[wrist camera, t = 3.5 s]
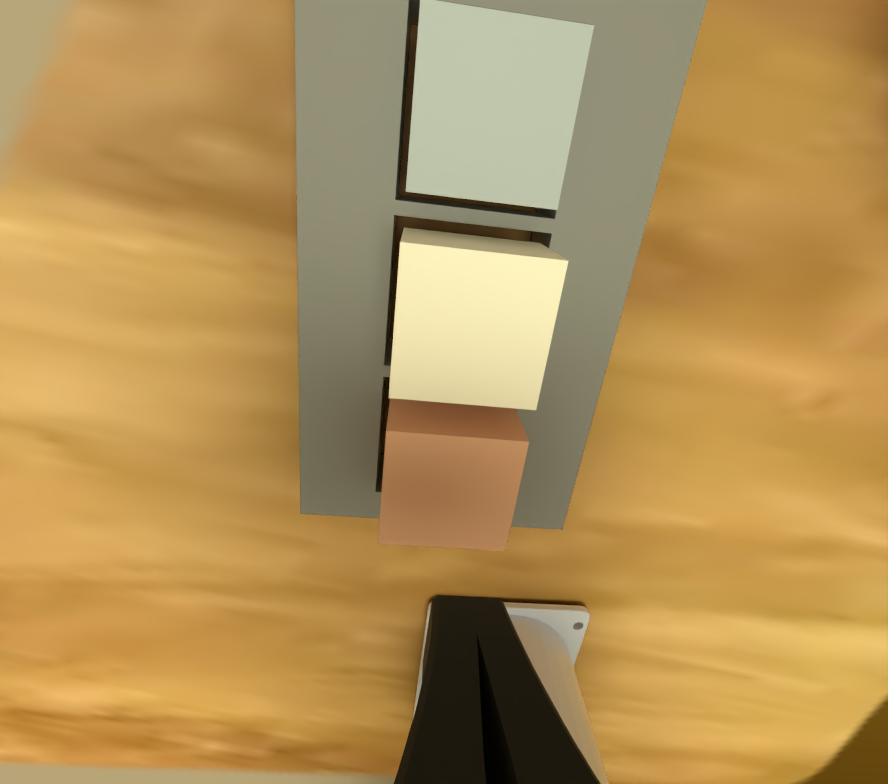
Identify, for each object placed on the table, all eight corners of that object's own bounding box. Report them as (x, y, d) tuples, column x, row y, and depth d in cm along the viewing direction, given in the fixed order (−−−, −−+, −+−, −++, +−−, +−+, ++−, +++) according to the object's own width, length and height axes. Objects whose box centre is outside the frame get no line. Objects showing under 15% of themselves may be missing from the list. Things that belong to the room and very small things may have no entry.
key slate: (533, 202, 15) (557, 209, 13) (408, 187, 15) (405, 191, 12) (559, 53, 14) (594, 25, 11) (420, 32, 13) (420, -2, 11)
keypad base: (546, 490, 21) (562, 529, 19) (313, 474, 20) (300, 513, 18) (665, 11, 14) (712, -19, 12) (315, -46, 13) (293, -90, 11)
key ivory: (516, 368, 16) (535, 410, 13) (394, 357, 16) (388, 398, 13) (540, 242, 14) (568, 260, 11) (403, 227, 14) (400, 242, 11)
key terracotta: (492, 493, 18) (505, 551, 15) (384, 485, 18) (377, 544, 15) (510, 395, 16) (529, 441, 14) (391, 385, 16) (385, 430, 13)
